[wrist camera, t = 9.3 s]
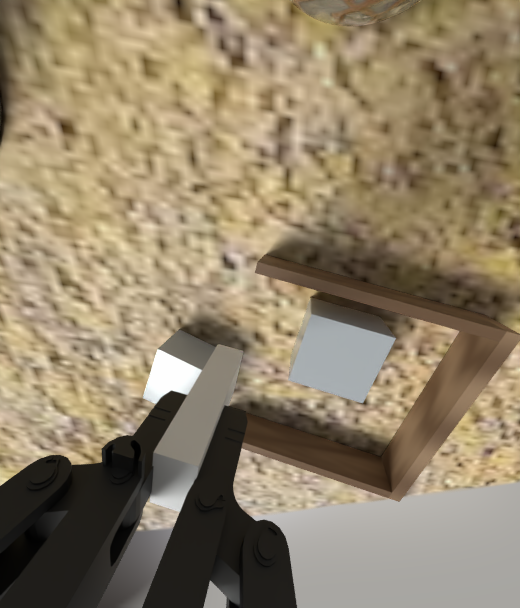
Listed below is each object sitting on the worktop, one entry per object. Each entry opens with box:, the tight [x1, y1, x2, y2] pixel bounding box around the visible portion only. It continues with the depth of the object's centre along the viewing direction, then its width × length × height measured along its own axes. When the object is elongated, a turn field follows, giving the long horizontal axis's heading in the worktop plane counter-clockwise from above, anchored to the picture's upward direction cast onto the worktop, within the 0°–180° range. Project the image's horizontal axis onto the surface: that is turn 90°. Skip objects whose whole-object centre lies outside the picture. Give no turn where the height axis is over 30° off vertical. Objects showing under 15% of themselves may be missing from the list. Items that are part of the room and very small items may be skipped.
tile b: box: [143, 330, 216, 404], centre depth 24 cm, size 6×6×4 cm
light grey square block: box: [288, 297, 396, 403], centre depth 20 cm, size 6×6×4 cm
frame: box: [242, 255, 520, 502], centre depth 21 cm, size 18×18×4 cm
